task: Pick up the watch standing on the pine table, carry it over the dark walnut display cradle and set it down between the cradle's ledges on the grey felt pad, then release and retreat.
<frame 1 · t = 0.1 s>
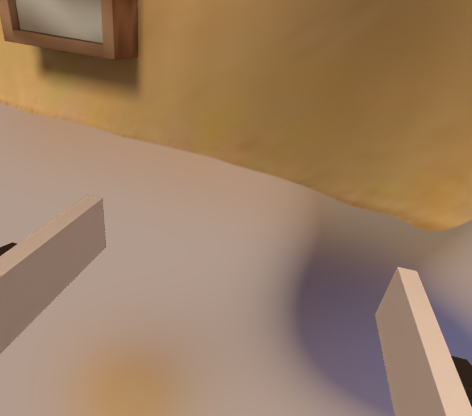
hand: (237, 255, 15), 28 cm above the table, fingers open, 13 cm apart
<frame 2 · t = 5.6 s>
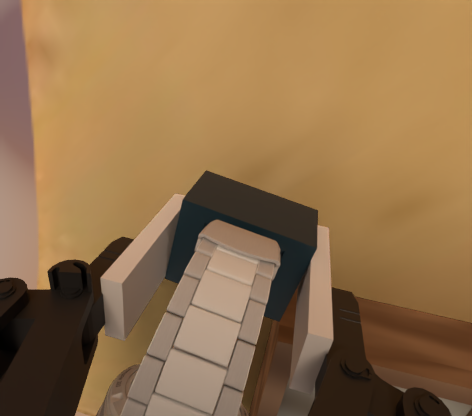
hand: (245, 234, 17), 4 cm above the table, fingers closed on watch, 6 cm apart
display cradle: (347, 374, 26), on the table
watch: (249, 226, 17), point 4 cm above the table, touching gripper
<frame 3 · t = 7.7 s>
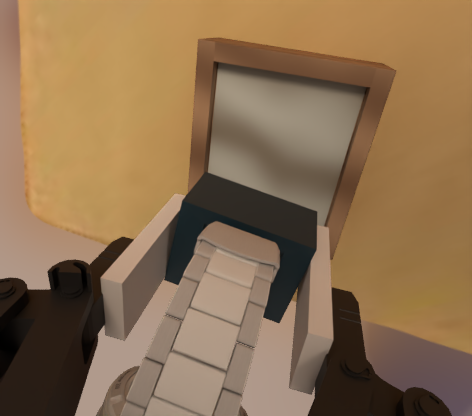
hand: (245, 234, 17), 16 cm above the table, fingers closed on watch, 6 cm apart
display cradle: (279, 142, 30), on the table
watch: (248, 227, 17), point 15 cm above the table, touching gripper
when the fingers open (6 cm above the table, at t = 10.0 s): watch drops 1 cm, resting on display cradle.
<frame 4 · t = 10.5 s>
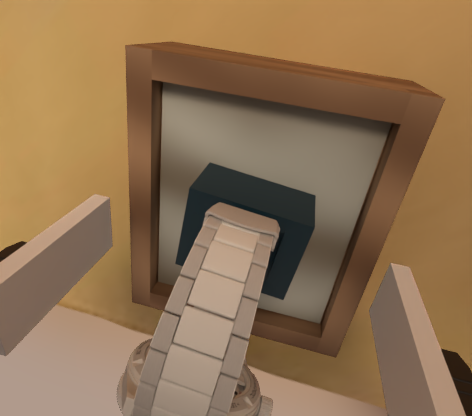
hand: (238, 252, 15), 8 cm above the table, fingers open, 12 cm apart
display cradle: (262, 186, 22), on the table
watch: (252, 214, 18), point 4 cm above the table, touching display cradle
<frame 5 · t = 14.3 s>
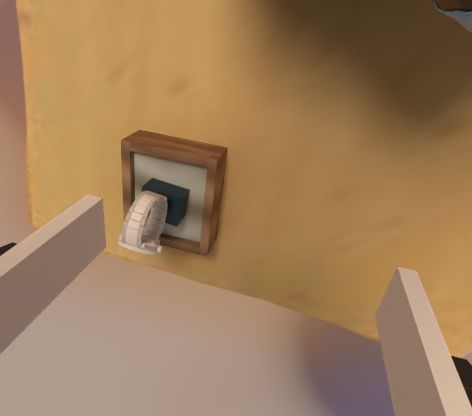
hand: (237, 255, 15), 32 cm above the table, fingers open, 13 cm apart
display cradle: (179, 186, 51), on the table
watch: (169, 197, 47), point 4 cm above the table, touching display cradle
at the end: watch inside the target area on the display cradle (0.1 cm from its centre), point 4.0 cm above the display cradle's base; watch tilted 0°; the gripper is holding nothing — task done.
